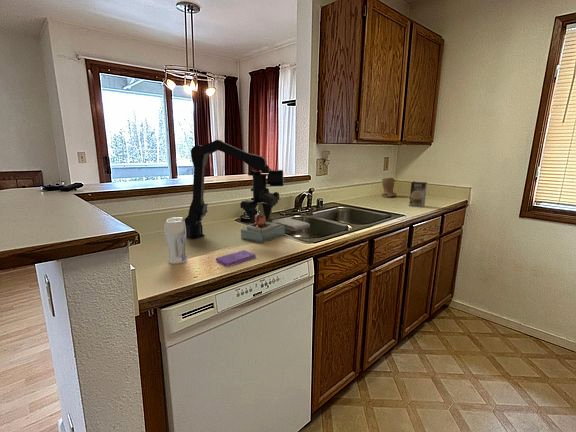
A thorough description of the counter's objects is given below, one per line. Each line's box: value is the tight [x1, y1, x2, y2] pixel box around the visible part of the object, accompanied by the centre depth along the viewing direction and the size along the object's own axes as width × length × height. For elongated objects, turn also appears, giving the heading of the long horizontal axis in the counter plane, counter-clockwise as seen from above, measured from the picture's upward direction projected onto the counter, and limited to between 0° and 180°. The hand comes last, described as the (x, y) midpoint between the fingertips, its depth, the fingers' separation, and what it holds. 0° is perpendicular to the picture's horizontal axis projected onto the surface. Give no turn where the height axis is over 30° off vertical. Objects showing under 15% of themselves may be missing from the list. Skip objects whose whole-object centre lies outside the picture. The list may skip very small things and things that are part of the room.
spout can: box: [255, 211, 266, 228], centre depth 136 cm, size 5×5×8 cm
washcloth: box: [271, 217, 311, 232], centre depth 158 cm, size 12×18×3 cm, turn 45°
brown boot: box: [380, 177, 398, 198], centre depth 248 cm, size 15×12×15 cm
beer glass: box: [163, 217, 188, 265], centre depth 108 cm, size 7×7×15 cm
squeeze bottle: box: [256, 204, 273, 222], centre depth 168 cm, size 8×8×18 cm
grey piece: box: [240, 221, 286, 244], centre depth 140 cm, size 19×12×6 cm, turn 145°
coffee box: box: [408, 180, 428, 208], centre depth 208 cm, size 9×6×16 cm
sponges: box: [215, 249, 257, 267], centre depth 112 cm, size 7×13×2 cm, turn 135°
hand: (260, 221), depth 137 cm, fingers open, 9 cm apart
